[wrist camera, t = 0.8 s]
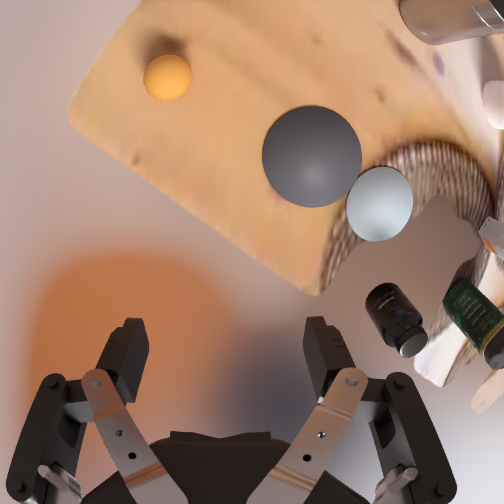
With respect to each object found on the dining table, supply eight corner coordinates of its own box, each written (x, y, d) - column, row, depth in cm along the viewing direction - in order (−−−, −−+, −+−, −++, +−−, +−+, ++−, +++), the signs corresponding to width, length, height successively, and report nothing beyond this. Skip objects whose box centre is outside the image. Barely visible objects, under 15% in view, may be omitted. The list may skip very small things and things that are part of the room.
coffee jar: (436, 299, 46) (491, 363, 29) (463, 271, 43) (524, 326, 27) (450, 321, 49) (496, 380, 32) (474, 296, 47) (525, 348, 30)
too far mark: (374, 151, 34) (374, 151, 34) (423, 194, 37) (424, 195, 37) (331, 218, 38) (331, 218, 37) (384, 253, 40) (385, 254, 40)
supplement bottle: (374, 278, 42) (410, 324, 31) (405, 284, 43) (442, 326, 32) (357, 313, 45) (385, 363, 34) (388, 317, 46) (418, 362, 35)
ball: (165, 54, 27) (153, 42, 22) (203, 70, 29) (198, 60, 24) (143, 91, 29) (127, 86, 24) (180, 108, 31) (171, 105, 26)
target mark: (297, 87, 30) (297, 87, 30) (377, 145, 34) (378, 145, 33) (243, 175, 35) (243, 175, 34) (327, 224, 38) (327, 224, 38)
